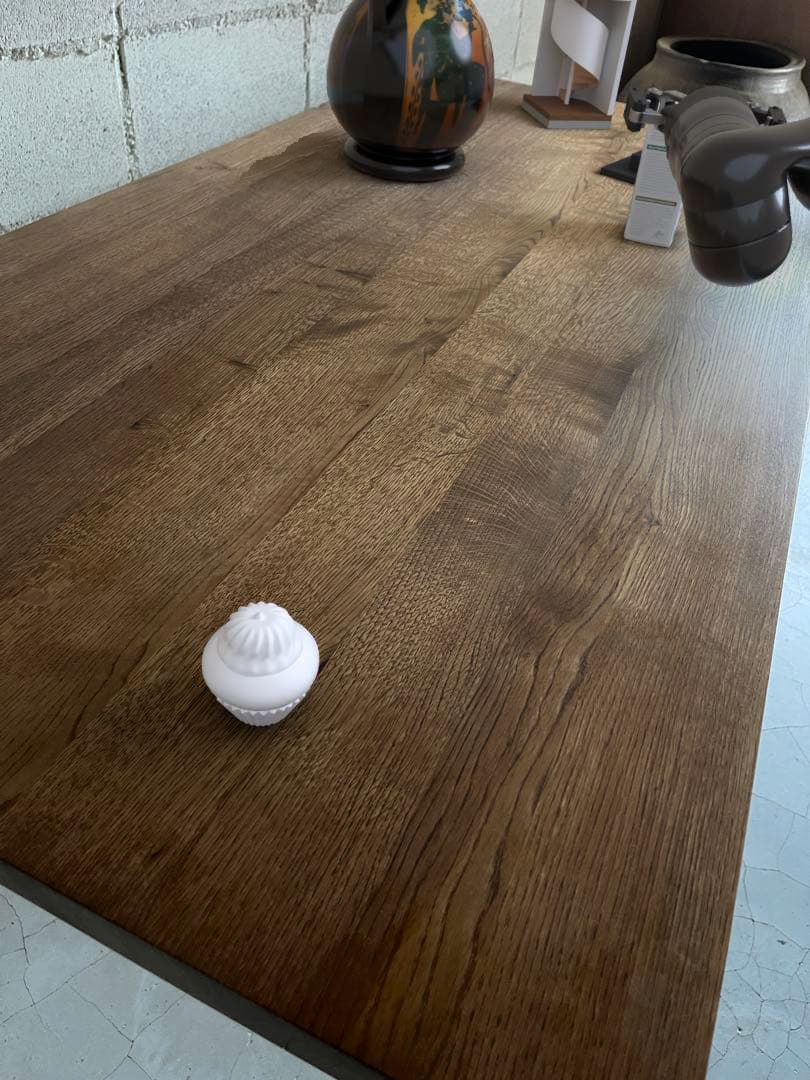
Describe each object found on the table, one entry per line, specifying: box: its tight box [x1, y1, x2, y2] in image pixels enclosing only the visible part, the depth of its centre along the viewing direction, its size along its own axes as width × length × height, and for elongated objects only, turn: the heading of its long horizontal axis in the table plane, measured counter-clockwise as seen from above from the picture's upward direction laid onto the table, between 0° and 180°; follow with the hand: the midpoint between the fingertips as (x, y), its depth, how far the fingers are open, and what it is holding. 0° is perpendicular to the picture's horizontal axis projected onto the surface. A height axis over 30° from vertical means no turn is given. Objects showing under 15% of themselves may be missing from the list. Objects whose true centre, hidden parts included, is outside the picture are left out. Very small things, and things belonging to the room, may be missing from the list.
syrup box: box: [623, 102, 683, 248], centre depth 106 cm, size 6×6×14 cm
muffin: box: [201, 600, 320, 727], centre depth 48 cm, size 6×6×7 cm
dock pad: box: [599, 149, 643, 185], centre depth 128 cm, size 16×16×3 cm
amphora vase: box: [325, 0, 496, 183], centre depth 115 cm, size 22×22×28 cm
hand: (696, 99), depth 91 cm, fingers open, 8 cm apart
